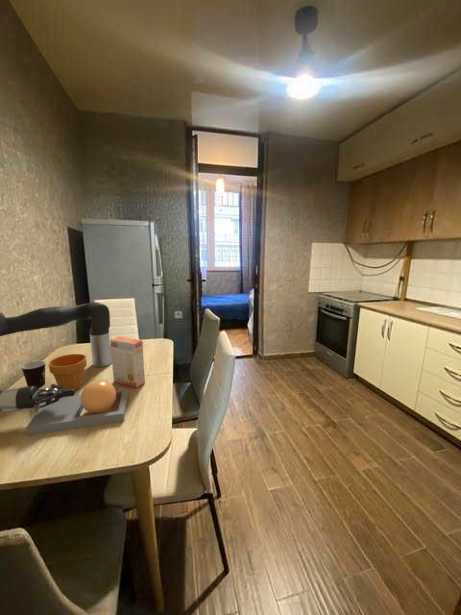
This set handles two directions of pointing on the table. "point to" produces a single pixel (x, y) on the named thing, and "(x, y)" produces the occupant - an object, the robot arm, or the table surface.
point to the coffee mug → (34, 373)
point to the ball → (98, 397)
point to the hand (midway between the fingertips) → (74, 392)
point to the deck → (73, 415)
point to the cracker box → (127, 361)
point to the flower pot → (68, 370)
